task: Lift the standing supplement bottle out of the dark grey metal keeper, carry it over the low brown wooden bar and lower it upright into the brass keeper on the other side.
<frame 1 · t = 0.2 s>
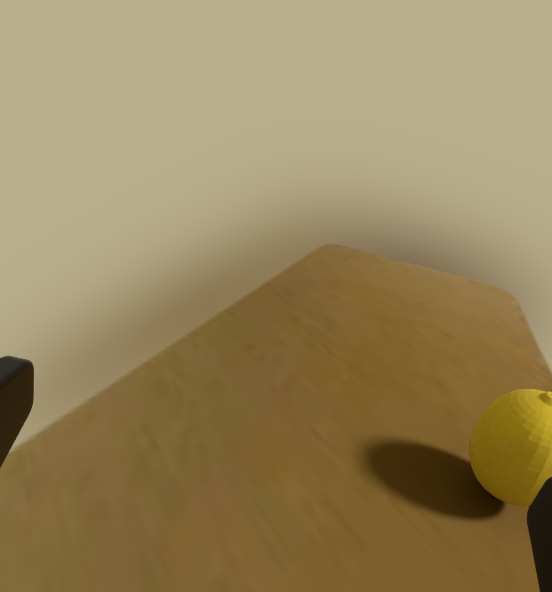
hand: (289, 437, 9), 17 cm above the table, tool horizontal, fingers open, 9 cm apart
lemon: (494, 497, 32), on the table
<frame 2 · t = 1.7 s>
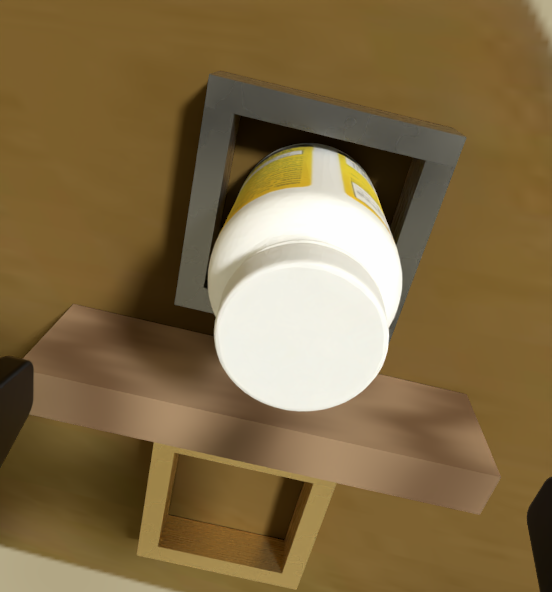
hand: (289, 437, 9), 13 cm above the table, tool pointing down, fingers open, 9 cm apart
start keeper: (307, 212, 20), on the table
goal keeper: (237, 485, 27), on the table
brown wooden bar: (267, 367, 24), on the table
supplement bottle: (307, 210, 21), resting in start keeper
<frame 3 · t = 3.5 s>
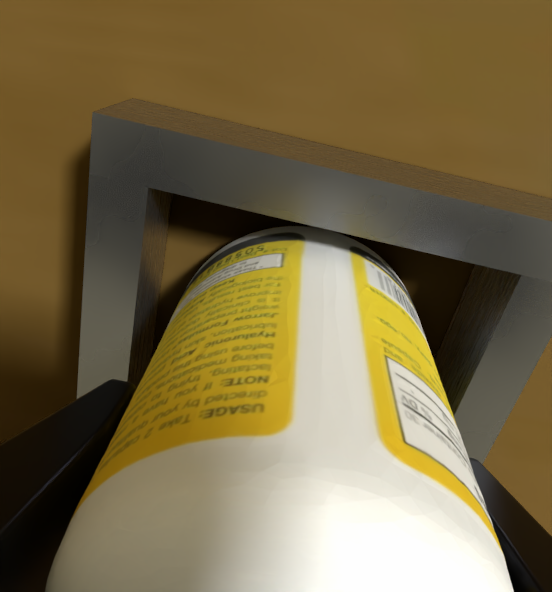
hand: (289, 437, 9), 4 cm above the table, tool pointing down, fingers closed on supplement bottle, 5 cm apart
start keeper: (296, 332, 12), on the table
supplement bottle: (297, 328, 12), resting in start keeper, touching gripper
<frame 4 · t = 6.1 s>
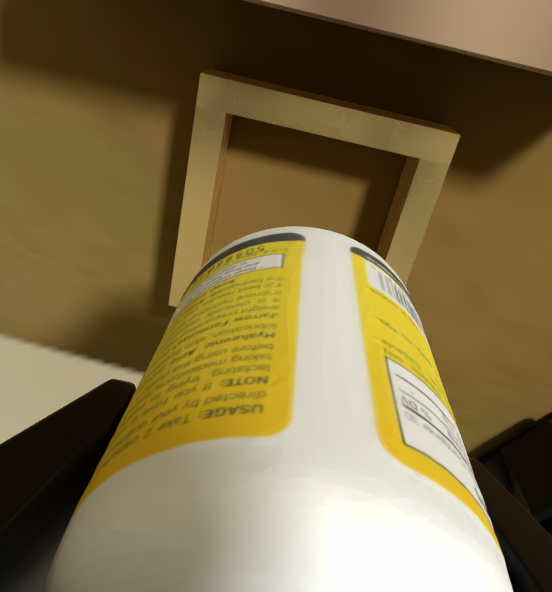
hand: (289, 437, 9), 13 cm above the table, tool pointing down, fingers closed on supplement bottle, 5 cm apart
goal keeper: (302, 211, 20), on the table
supplement bottle: (297, 328, 12), point 9 cm above the table, touching gripper
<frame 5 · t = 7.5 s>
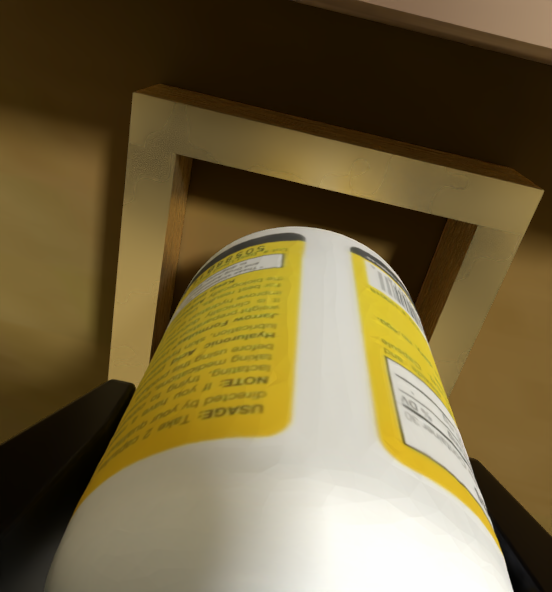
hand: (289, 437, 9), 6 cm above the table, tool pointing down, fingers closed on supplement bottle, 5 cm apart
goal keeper: (296, 285, 14), on the table
supplement bottle: (297, 328, 12), point 2 cm above the table, touching gripper
when the fingers open (4 cm above the table, at t = 8.8 s): supplement bottle stays where it is, resting in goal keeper.
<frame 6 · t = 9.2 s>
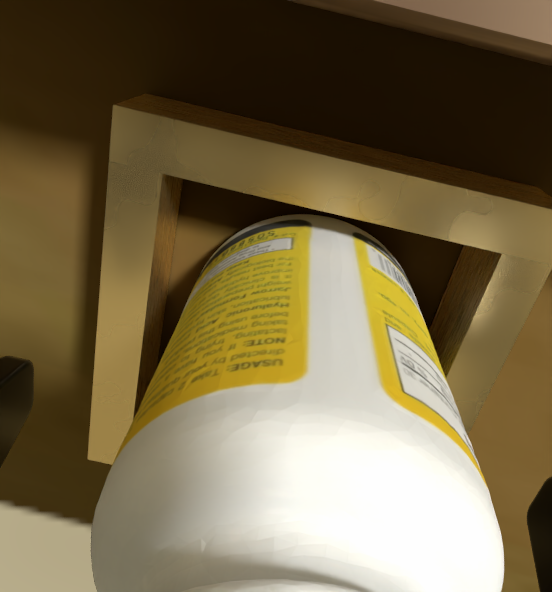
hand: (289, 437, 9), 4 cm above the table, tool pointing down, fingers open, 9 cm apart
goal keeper: (297, 312, 13), on the table
supplement bottle: (302, 310, 13), resting in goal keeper
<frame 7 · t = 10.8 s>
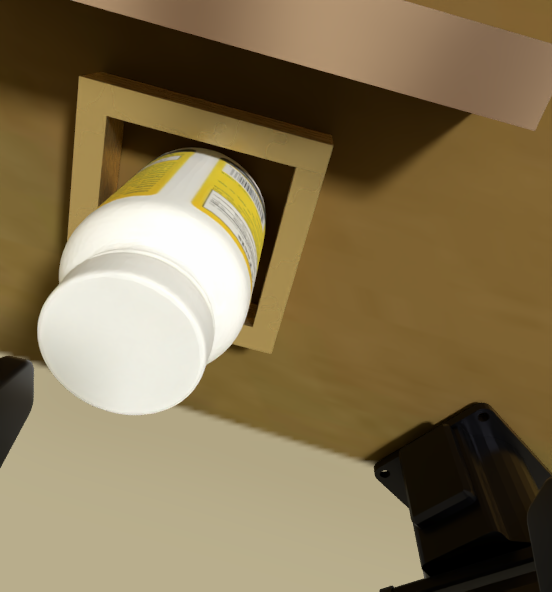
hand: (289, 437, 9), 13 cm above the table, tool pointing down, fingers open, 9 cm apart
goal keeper: (197, 213, 21), on the table
brown wooden bar: (237, 2, 17), on the table
supplement bottle: (201, 213, 21), resting in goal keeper
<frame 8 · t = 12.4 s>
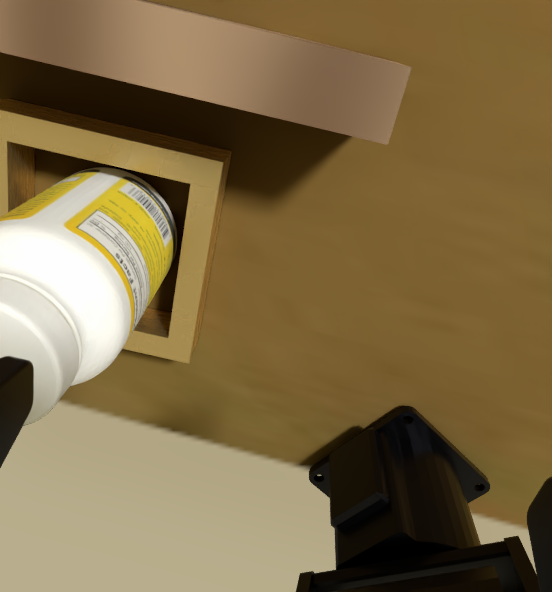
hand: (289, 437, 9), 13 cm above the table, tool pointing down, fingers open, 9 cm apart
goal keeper: (112, 229, 22), on the table
brown wooden bar: (128, 29, 18), on the table
supplement bottle: (117, 229, 22), resting in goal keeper
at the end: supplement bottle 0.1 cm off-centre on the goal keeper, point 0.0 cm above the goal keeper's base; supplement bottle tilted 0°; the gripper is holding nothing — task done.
